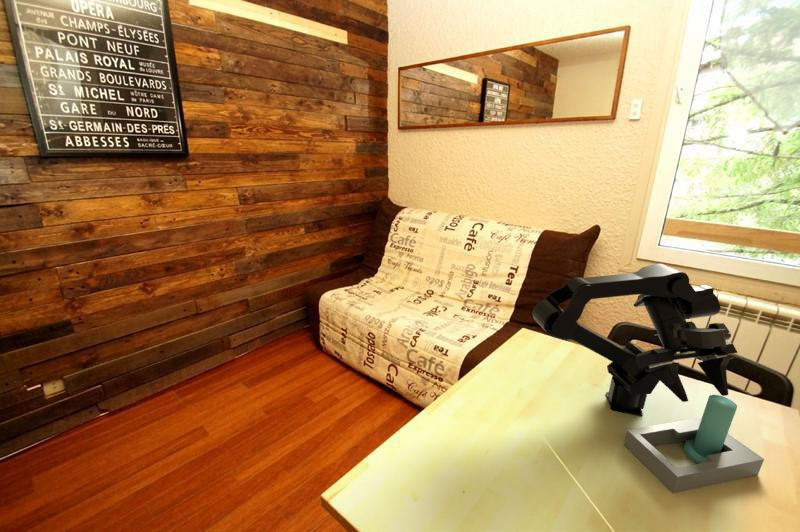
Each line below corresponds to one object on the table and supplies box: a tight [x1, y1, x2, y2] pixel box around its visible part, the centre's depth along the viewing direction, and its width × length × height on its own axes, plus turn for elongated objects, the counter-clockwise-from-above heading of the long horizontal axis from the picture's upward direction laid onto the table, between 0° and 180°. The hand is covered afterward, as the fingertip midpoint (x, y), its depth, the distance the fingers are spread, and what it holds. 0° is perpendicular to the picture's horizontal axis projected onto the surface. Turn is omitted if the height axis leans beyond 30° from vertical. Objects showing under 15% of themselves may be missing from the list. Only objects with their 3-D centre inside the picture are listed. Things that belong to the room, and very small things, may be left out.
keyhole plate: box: [623, 416, 765, 494], centre depth 68 cm, size 19×11×4 cm, turn 101°
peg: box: [683, 394, 738, 464], centre depth 68 cm, size 6×6×13 cm
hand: (705, 398), depth 69 cm, fingers open, 9 cm apart
